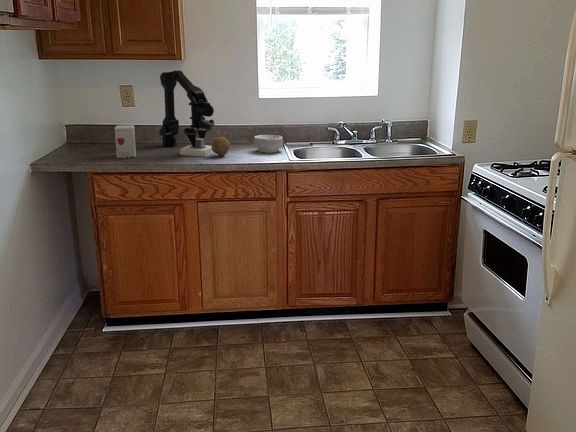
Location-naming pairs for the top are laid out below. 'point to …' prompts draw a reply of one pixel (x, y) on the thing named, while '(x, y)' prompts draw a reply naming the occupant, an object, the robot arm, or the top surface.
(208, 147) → the socket plate
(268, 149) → the white bowl
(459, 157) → the top surface
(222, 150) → the natural sponge
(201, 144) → the plug
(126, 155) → the supplement box
